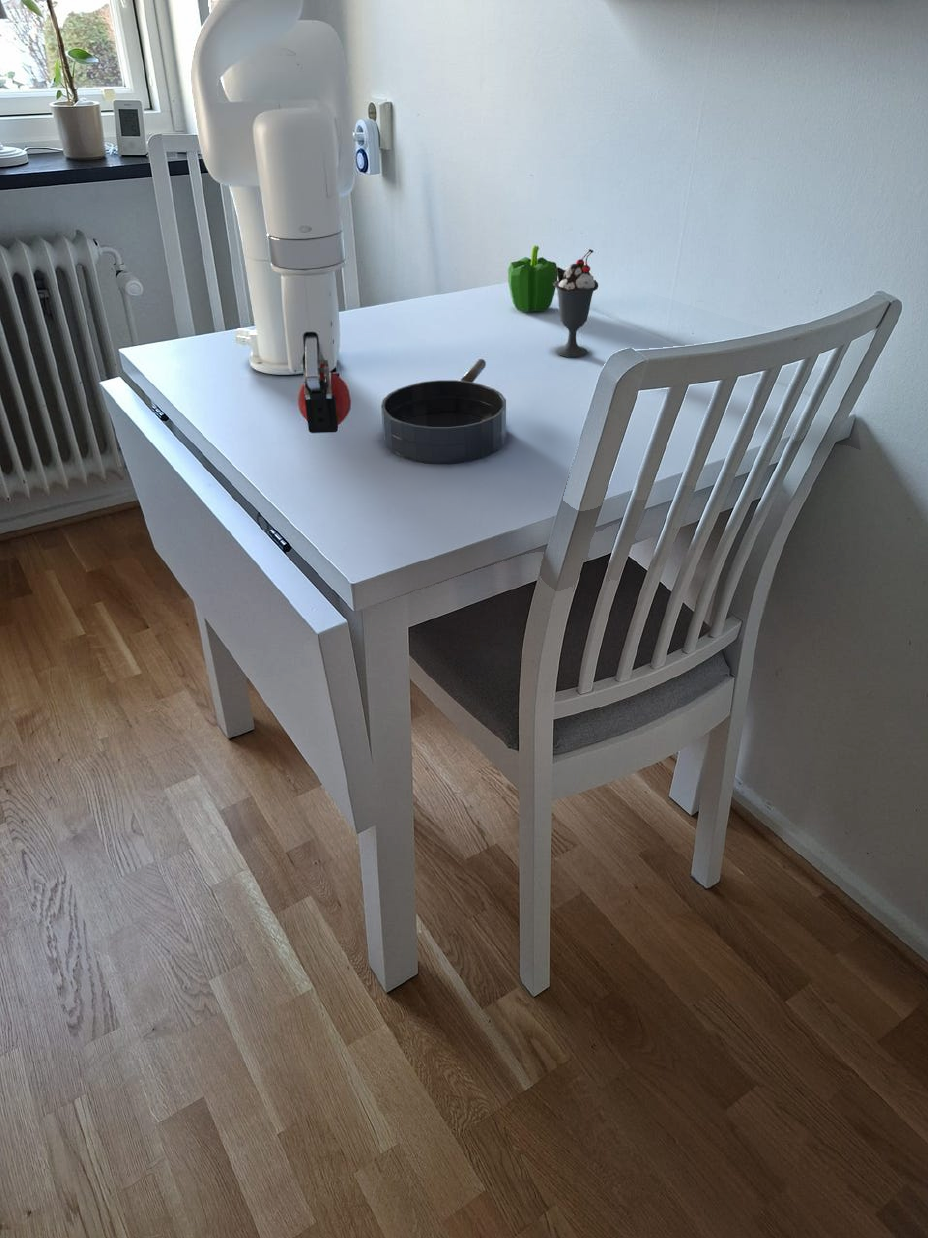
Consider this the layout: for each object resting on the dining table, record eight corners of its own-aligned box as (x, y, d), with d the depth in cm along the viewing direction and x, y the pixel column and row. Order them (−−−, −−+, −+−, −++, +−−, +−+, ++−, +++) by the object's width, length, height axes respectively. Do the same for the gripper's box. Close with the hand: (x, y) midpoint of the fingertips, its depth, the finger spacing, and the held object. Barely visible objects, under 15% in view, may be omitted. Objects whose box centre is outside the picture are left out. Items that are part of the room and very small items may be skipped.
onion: (344, 444, 96) (336, 373, 91) (295, 440, 97) (285, 370, 92) (359, 423, 101) (353, 355, 96) (312, 420, 102) (304, 352, 97)
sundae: (600, 356, 131) (609, 251, 123) (559, 361, 130) (564, 255, 121) (583, 342, 136) (590, 241, 128) (543, 347, 135) (547, 245, 126)
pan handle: (467, 392, 112) (466, 382, 111) (456, 391, 112) (456, 381, 112) (487, 367, 119) (487, 357, 119) (477, 367, 120) (477, 357, 119)
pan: (365, 455, 104) (362, 420, 102) (408, 408, 116) (407, 375, 114) (486, 470, 101) (486, 434, 98) (518, 420, 112) (519, 386, 110)
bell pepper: (541, 319, 147) (544, 256, 141) (500, 311, 150) (500, 250, 144) (564, 306, 152) (568, 245, 146) (524, 299, 156) (525, 240, 150)
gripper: (280, 232, 94) (301, 392, 105) (257, 274, 80) (283, 453, 91) (349, 231, 95) (363, 390, 105) (338, 271, 81) (355, 450, 91)
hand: (326, 418), depth 98 cm, fingers closed on onion, 6 cm apart
